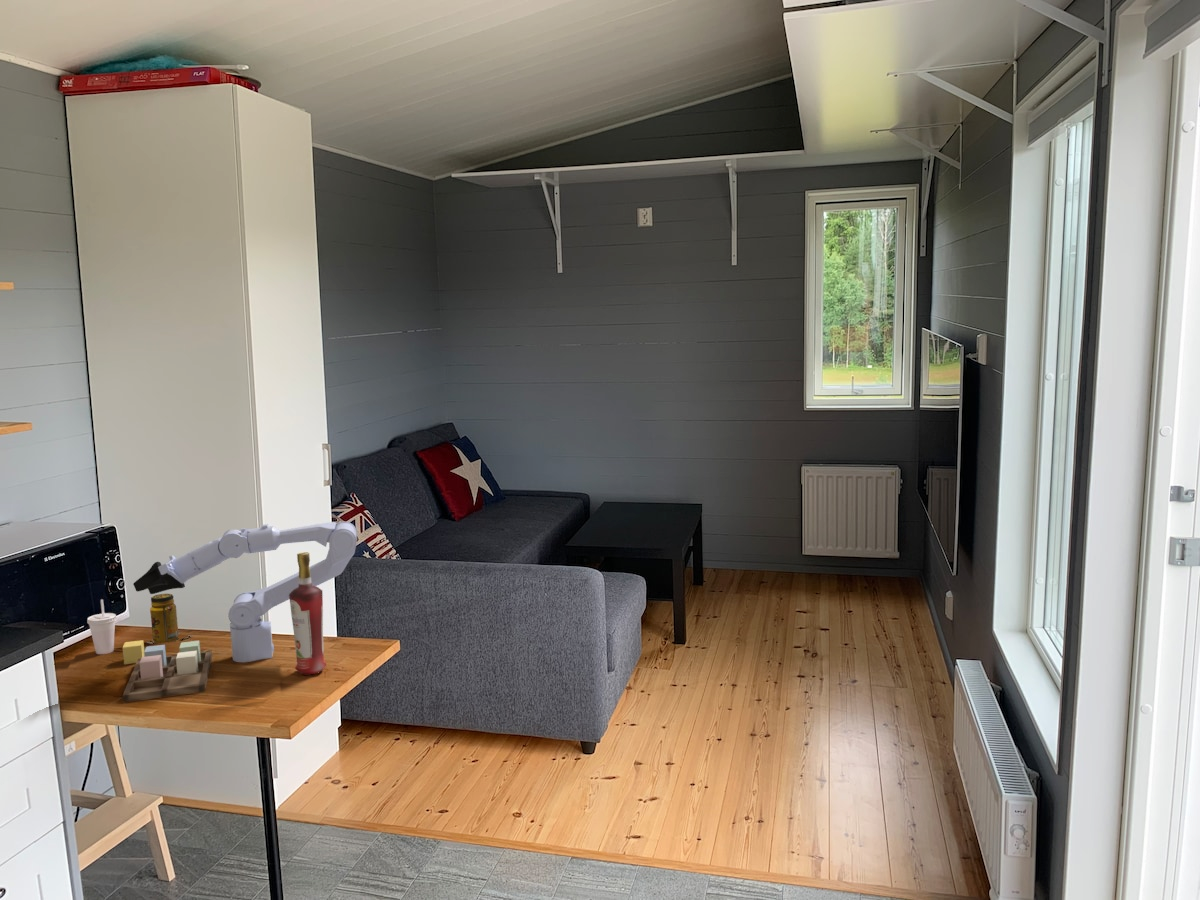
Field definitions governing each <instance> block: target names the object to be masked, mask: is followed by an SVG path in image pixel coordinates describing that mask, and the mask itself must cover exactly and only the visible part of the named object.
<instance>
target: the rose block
mask: <svg viewBox="0 0 1200 900" xmlns="http://www.w3.org/2000/svg"><path fill="white" fill-rule="evenodd" d="M140 673H141V680H143V679H151V678H158V677H163V669H162V658H161V655H156V656H147V657H142V658H141V661H140Z"/></svg>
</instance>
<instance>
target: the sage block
mask: <svg viewBox="0 0 1200 900" xmlns="http://www.w3.org/2000/svg"><path fill="white" fill-rule="evenodd" d="M200 645H201V643H200V640H192V641H183V642H180V645H179V653H180V652H189V651H197V660H198V662H201V655H200V652H201V646H200Z"/></svg>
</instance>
